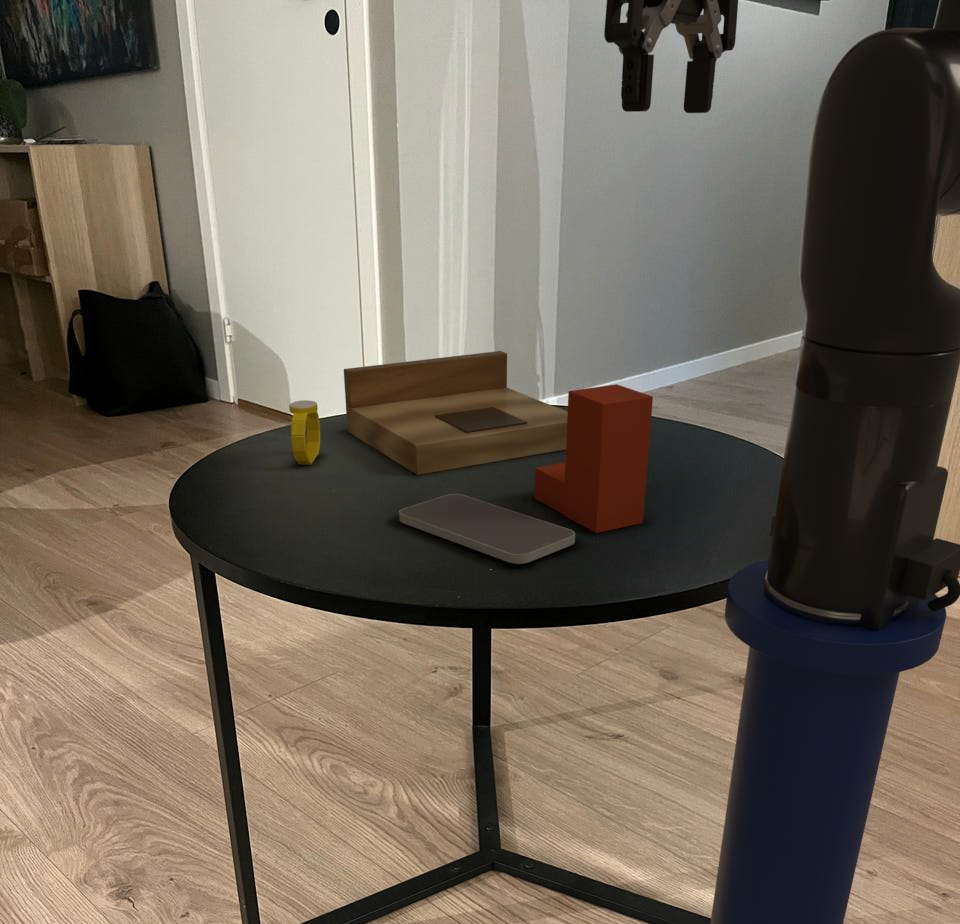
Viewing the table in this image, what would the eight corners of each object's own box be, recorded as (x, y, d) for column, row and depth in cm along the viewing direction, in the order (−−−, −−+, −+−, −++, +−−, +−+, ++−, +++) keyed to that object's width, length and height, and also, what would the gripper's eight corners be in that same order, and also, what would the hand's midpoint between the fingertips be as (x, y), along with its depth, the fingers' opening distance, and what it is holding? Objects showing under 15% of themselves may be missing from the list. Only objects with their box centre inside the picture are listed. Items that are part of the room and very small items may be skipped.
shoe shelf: (584, 446, 106) (587, 380, 103) (417, 475, 97) (414, 404, 94) (500, 409, 120) (500, 350, 117) (347, 431, 111) (343, 368, 108)
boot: (643, 523, 85) (653, 396, 80) (595, 533, 83) (603, 403, 78) (578, 490, 93) (583, 372, 88) (533, 499, 91) (536, 379, 86)
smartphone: (455, 492, 90) (581, 532, 80) (455, 501, 90) (580, 543, 81) (393, 511, 85) (518, 557, 76) (393, 521, 86) (518, 568, 76)
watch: (303, 452, 104) (298, 395, 102) (328, 452, 104) (324, 396, 101) (287, 469, 99) (281, 410, 96) (313, 470, 99) (309, 411, 96)
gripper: (675, -174, 64) (655, 111, 71) (783, -136, 73) (755, 112, 80) (583, -153, 68) (574, 112, 76) (696, -120, 77) (677, 113, 85)
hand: (667, 112), depth 78 cm, fingers open, 8 cm apart
